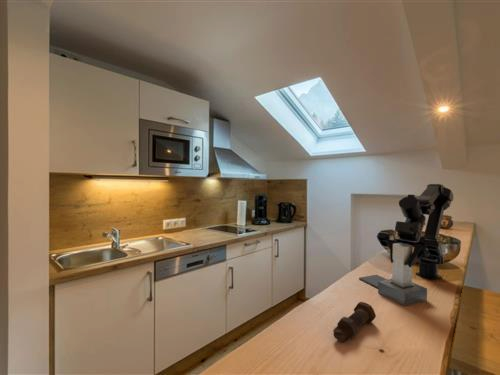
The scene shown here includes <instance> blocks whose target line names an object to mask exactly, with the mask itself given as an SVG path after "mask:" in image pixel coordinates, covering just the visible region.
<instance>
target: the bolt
mask: <svg viewBox="0 0 500 375" xmlns="http://www.w3.org/2000/svg"><path fill="white" fill-rule="evenodd" d="M353 311H354V312H353V313H352V314H350V315H349V316H348V317H346V316H343V317H342V318H340V319H339V321H338V323H337V325H336V327H334V328H333V331H332V332H333V337H334V338H335V339H336V340H337V341H339V342H341V343H342V342H344V341H346V340H347V339H353V338H354V337H355V335H356V334H357V333H358V331H359V330H358V329H359V328H360V327H361V326H362V325H363V324H367V325H370V324H372V322H373V321H374V320H375V319H376V318H377V315H376V313H375V309H374V308H373V306H372V305H370V304H369V303H367V302H364V301H359V302H357V304H356V306H355V307H354V308H353Z"/></svg>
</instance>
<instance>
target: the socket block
mask: <svg viewBox="0 0 500 375" xmlns="http://www.w3.org/2000/svg"><path fill="white" fill-rule="evenodd" d="M386 279H387V280H382V281H378V288H377V293H378V294H380V295H382V296H384V297H385V298H388V299H390V300H392V301H393V302H396V303H397V304H399V305H401V306H403V307H406V306H411V305H415V304H420V303H422V302H423V303H424V302H427V301H428V288H427V287H425V286H422V285H420V284H417V283H414V282H412V287H411V288H406V289H402V288H399V287H397V286H395V285H393V284H392V278H386Z"/></svg>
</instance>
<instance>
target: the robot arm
mask: <svg viewBox="0 0 500 375" xmlns="http://www.w3.org/2000/svg"><path fill="white" fill-rule="evenodd" d="M453 201H454V193H453V191H452V189H450V188H448V187H445V186H444V185H443V184H441V183H430V184H427V186H426V188H425V189H424V190H423V191H422V193H420V195H418V196H416V195H415V194H407V196H405V197H403V198H401V199H400V200H399V201H398V206H399V208H400V210H401V213H402V215H403V217H404V218H405V221H399V220H397V221H395V227H394V232H397V233H396V235H397V236H398V237H396V236H393V235H392V234H391V232H387V231H386V232H384V231H379V232H378V233H377V234H376V238H377V240H378V242H379V244H380V245H381V246H382V247H387V248H389V253H390V255H389V256H390V263H391V264H392V263H393V244H394V243H405V244H409V245H412V246H413V250H412V256H411V258H410V261H409V265H408V266H409V267H411V266H412V267H413V266H414V265H416V263H418V262H419V264H418V272H415V275H417V276H420V277H422V278H425V279H428V280H437V279H442V278H443V276H442V275H439V265H445V264H444V263H445V261H444V259H445V258H444V254H443V248H442V246H441V242H440V241H439V240H438V239H439V234H440V228H441V225H442V222H443V217H444V212H445V210H448V208H450V207H451V203H452V202H453ZM425 215H426V216H428V218H426V216H425ZM426 219H427V220H426ZM426 221H427V223H426ZM425 225H426V226H425ZM424 227H425V230H424V233H423V229H424ZM422 233H423V234H424V235H423V234H422Z"/></svg>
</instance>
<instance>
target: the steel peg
mask: <svg viewBox="0 0 500 375" xmlns="http://www.w3.org/2000/svg"><path fill="white" fill-rule="evenodd" d="M413 250H414V247H413V246H412V245H409V244H405V243H394V244H393V263H391V264H392V266H391V267H392V272H391V274H392V278H391V279H392V284H393V285H395V286H397V287H399V288H402V289H406V288H411V287H412V283H413V266H411V267H409V266H408V265H409V261H410V258H411V256H412V254H413Z"/></svg>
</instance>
